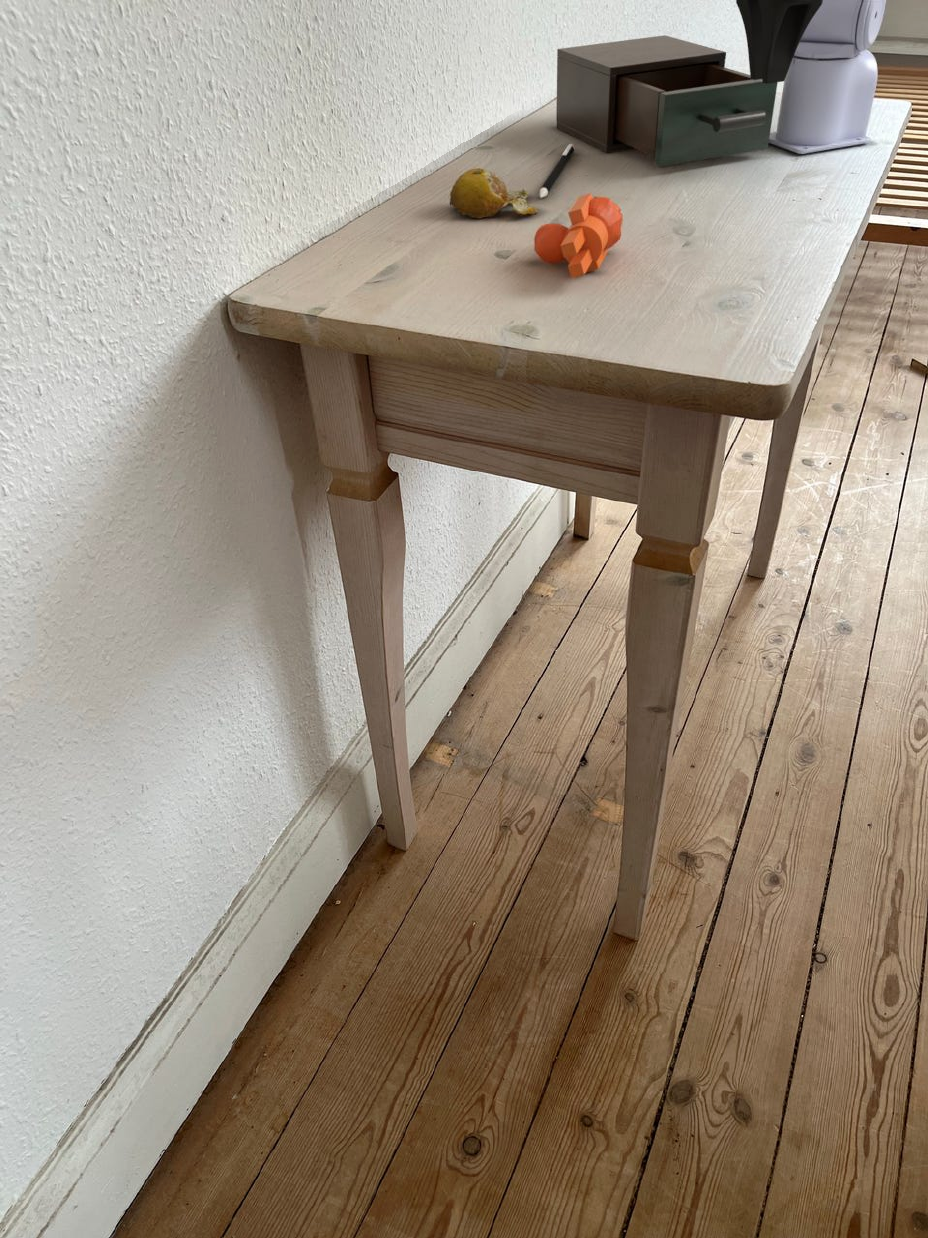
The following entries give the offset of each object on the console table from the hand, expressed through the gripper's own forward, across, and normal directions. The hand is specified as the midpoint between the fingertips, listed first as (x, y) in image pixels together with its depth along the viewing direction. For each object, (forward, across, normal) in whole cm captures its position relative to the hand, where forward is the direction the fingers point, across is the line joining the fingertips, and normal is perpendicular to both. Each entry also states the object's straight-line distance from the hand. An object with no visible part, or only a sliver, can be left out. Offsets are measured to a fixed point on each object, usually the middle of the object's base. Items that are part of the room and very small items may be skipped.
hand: (767, 79), depth 90 cm
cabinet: (+9, -25, 0) cm, 27 cm away
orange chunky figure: (+10, +12, -26) cm, 30 cm away
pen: (+10, -13, -16) cm, 23 cm away
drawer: (+8, -11, 0) cm, 14 cm away
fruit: (+10, -5, -26) cm, 28 cm away
